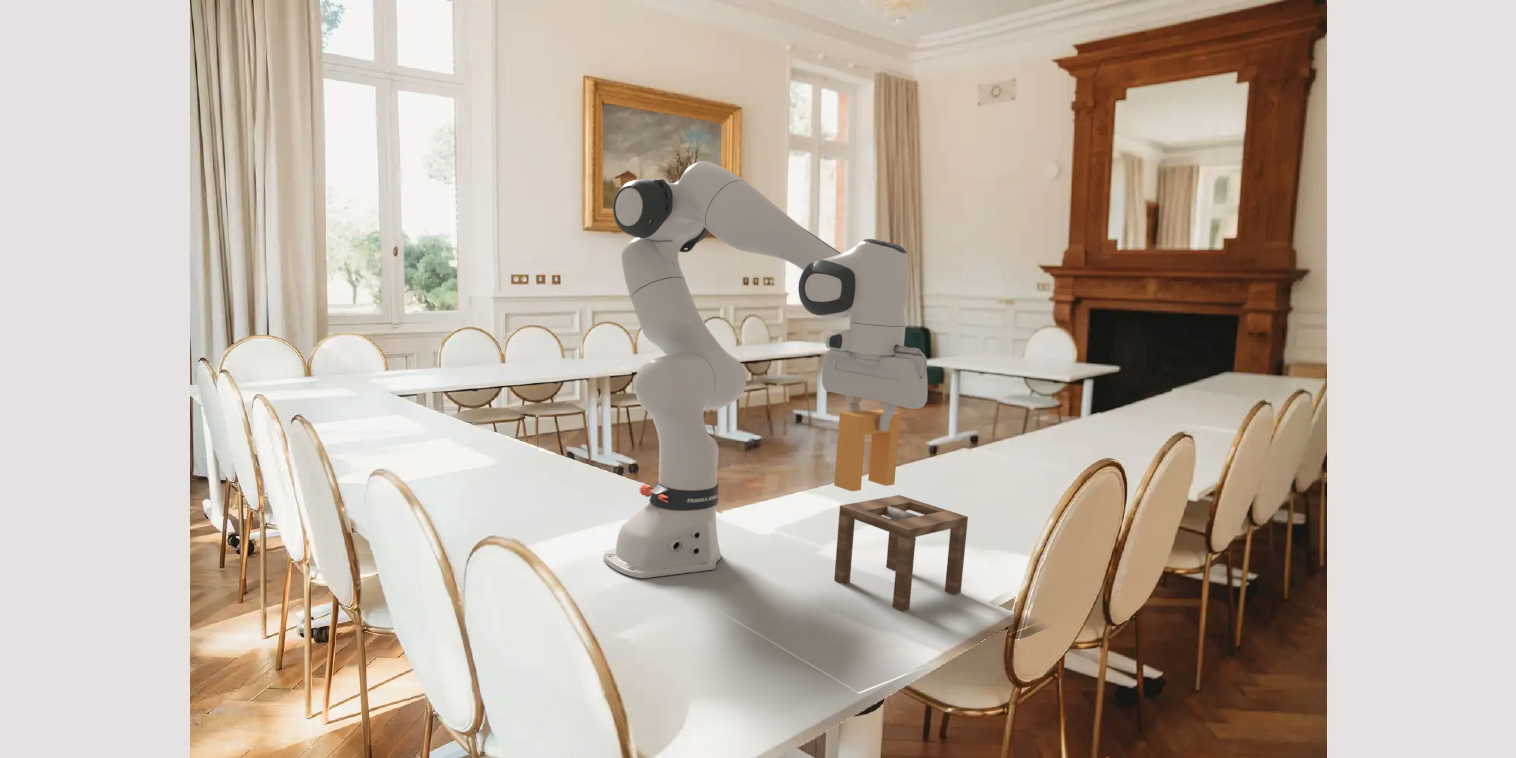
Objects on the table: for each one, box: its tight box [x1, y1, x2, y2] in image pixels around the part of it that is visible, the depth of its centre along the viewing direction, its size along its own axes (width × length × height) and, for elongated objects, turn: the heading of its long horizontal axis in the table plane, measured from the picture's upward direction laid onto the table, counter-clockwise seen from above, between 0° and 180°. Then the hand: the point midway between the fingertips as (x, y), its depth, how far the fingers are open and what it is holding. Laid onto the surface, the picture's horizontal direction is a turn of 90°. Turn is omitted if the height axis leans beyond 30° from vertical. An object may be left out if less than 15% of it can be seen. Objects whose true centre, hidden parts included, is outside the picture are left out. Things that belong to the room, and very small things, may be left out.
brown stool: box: [833, 494, 969, 612], centre depth 147 cm, size 16×16×14 cm
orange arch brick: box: [833, 408, 901, 492], centre depth 134 cm, size 10×4×12 cm, turn 129°
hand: (869, 427), depth 133 cm, fingers closed on orange arch brick, 4 cm apart
